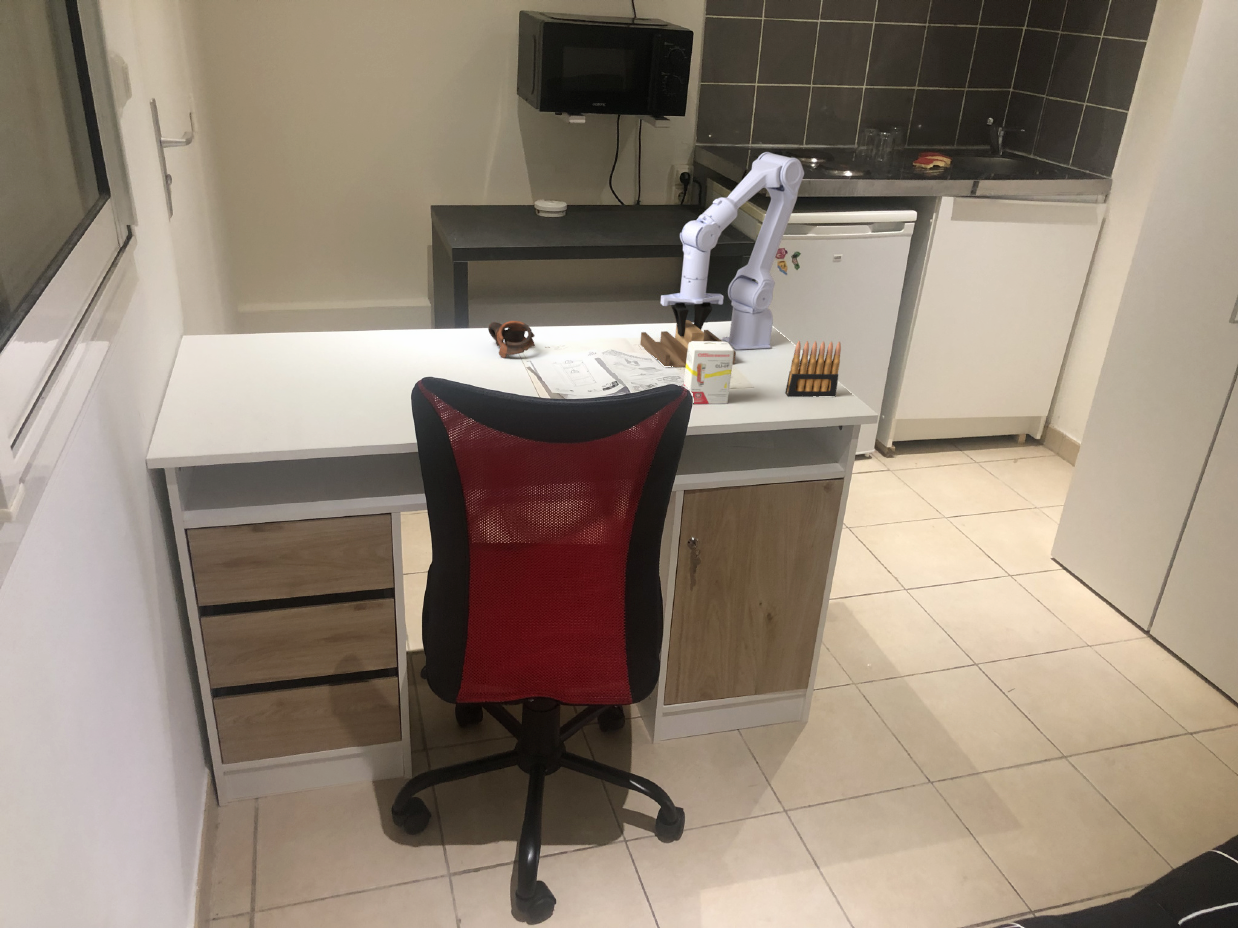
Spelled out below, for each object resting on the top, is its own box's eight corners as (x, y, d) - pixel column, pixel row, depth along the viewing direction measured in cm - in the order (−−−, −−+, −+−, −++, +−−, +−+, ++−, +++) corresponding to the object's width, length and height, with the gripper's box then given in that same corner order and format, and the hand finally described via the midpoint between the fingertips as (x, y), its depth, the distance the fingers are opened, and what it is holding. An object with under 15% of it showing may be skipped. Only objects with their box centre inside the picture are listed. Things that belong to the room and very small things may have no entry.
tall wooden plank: (686, 340, 223) (688, 320, 220) (701, 353, 215) (704, 332, 213) (674, 341, 222) (676, 320, 219) (689, 354, 214) (692, 333, 212)
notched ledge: (706, 341, 229) (707, 329, 228) (734, 364, 215) (735, 351, 214) (640, 344, 224) (641, 332, 222) (664, 368, 210) (665, 355, 209)
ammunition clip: (832, 393, 203) (842, 340, 198) (835, 396, 201) (845, 343, 196) (784, 393, 201) (793, 339, 196) (787, 396, 200) (796, 342, 194)
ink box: (687, 404, 191) (693, 349, 186) (681, 395, 196) (687, 341, 191) (728, 404, 193) (735, 349, 188) (721, 395, 198) (728, 341, 192)
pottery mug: (542, 351, 216) (543, 327, 209) (520, 378, 211) (520, 354, 204) (498, 329, 219) (497, 304, 212) (475, 355, 214) (473, 331, 207)
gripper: (671, 282, 206) (665, 341, 212) (731, 280, 210) (724, 339, 216) (659, 273, 212) (654, 331, 218) (718, 272, 216) (712, 329, 222)
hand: (688, 334), depth 217 cm, fingers open, 3 cm apart
